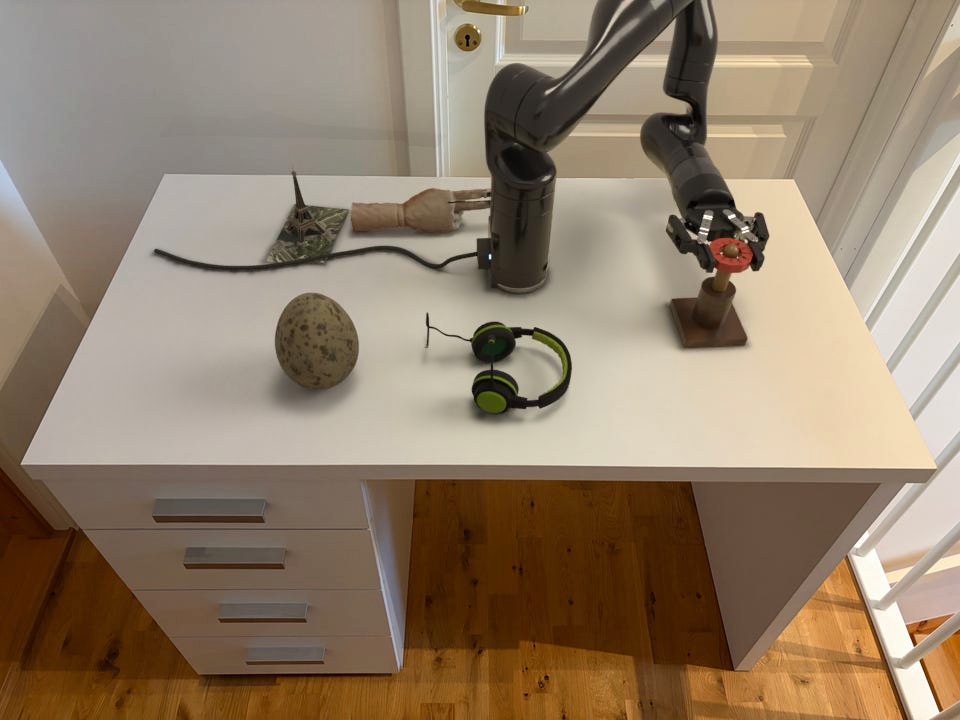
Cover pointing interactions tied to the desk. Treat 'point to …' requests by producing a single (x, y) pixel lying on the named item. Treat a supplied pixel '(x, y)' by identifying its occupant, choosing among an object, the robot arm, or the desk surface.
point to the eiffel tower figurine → (307, 231)
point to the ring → (727, 263)
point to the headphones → (498, 387)
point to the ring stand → (710, 312)
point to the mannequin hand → (420, 211)
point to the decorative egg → (316, 342)
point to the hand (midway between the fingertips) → (735, 266)
